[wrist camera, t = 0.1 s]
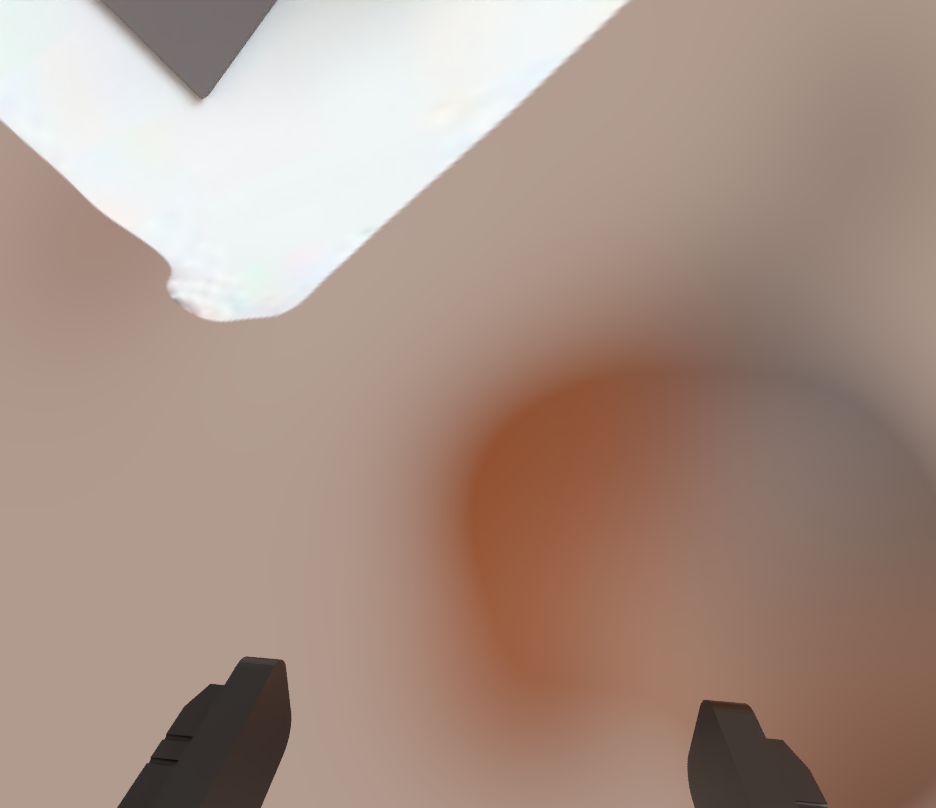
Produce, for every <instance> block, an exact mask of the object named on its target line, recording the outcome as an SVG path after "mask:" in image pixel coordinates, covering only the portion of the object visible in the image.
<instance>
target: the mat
mask: <svg viewBox="0 0 936 808" xmlns="http://www.w3.org/2000/svg"><path fill="white" fill-rule="evenodd" d="M102 1H103V2H104V3H105V4H106V5H107V6H108V7H109V8H110V9H111V10H112V11H113V12H114V13H115V14H116V15H117V16H118V17H119V18H120V19H121V20H122V21H123V22H124V23H125V24H126V25H127V26H128V27H129V28H130V29H131V30H132V31H133V32H134V33H135V34H136V35H137V36H138V37H139V38H140V39H141V40H142V41H143V42H144V43H145V44H146V45H147V46H148V47H149V48H150V49H151V50H152V51H153V52H155V53H156V54H157V55H158V56H159V57H160V58H161V59H162V60H163V61H164V62H165V63H166V64H167V65H168V66H169V67H170V68H171V69H172V70H173V71H174V72H175V73H176V74H177V75H178V76H179V77H180V78H181V79H182V80H183V81H184V82H185V83H186V84H187V85H188V86H189V87H190V88H191V89H192V90H193V91H194V92H195V93H196V94H197V95H198V96H199V97H200V98H201V99H202V98H204V97H207V96H208V95H209V93H210V92H211V91H212V89H213V88H214V86H215V85H216V84H217V82H218V81H219V79H220V78H221V77H222V75H223V74H224V73H225V71H226V70H227V68H228V67H229V66H230V64H231V63H232V62H233V60H234V59H235V57H236V56H237V55H238V53H239V52H240V51H241V49H242V48H243V46H244V45H245V44H246V42H247V41H248V40H249V38H250V37H251V35H252V34H253V33H254V31H255V30H256V29H257V27H258V26H259V24H260V23H261V22H262V20H263V19H264V17H265V16H266V15H267V13H268V12H269V11H270V9H271V8H272V6H273V5H274V4H275V2H276V1H277V0H102Z"/></svg>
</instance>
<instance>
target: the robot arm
mask: <svg viewBox="0 0 936 808" xmlns="http://www.w3.org/2000/svg"><path fill="white" fill-rule="evenodd" d="M290 728H291V708H290V699H289V691H288V682H287V673H286V665H285V662H284V661H283V660H278V659H268V658H257V657H244V658H242V659H241V660H240V661H239V663H238V664H237V666H236V667H235V669H234V671H233V672H232V674H231V676H230V677H229V679H228V680H227V682H226V684H225V685H216V684H210V685H209V686H208V687H206V688H205V689H204V690H203V691H202V692H201V693H200V694H198V695H197V696H196V697H195V698H194V699H192V700H191V701H190V702H189V703H188V704H187V705H186V706H185V707H184V708H183V710H182V711H181V712H180V714H179V716H178V717H177V719H176V720H175V722H174V723H173V725H172V726H171V728H170V729H169V731H168V732H167V734H166V738H165V739H164V740H162V741H161V743H160V744H159V746H158V747H157V749H156V750H155V752H154V753H153V755H152V756H151V760H150V762H149V763H147V764H146V765H145V767H144V768H143V770H142V771H141V773H140V774H139V776H138V777H137V779H136V780H135V782H134V784H133V785H132V786H131V788H130V789H129V791H128V792H127V794H126V796H125V797H124V798H123V800H122V801H121V803H120V804H119V806H118V807H117V808H261V806H262V804H263V801H264V799H265V796H266V794H267V792H268V789H269V787H270V785H271V782H272V780H273V778H274V775H275V773H276V771H277V768H278V766H279V764H280V761H281V759H282V757H283V754H284V751H285V749H286V745H287V742H288V739H289V734H290ZM688 780H689V787H690V792H691V796H692V800H693V803H694V806H695V808H828V807H827V802H826V800H825V798H824V796H823V794H822V792H821V791H820V789H819V787H818V785H817V783H816V781H815V779H814V777H813V776H812V773H811V772H810V770H809V769H808V767H807V766H806V765H805V764H804V763H803V762H802V761H801V760H800V759H799V758H798V756H796V755H795V753H794V752H793V751H792V750H791V749H790V748H789V747H788V746H787V744H786V743H785V742H784V741H783V740H777V739H766V737H765V735H764V733H763V731H762V729H761V727H760V724H759V722H758V720H757V718H756V716H755V714H754V712H753V710H752V709H751V707H750V706H749V705H747V704H745V703H734V702H723V701H712V700H703V702H702V703H701V705H700V710H699V714H698V718H697V722H696V726H695V730H694V734H693V738H692V743H691V747H690V751H689V755H688Z"/></svg>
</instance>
